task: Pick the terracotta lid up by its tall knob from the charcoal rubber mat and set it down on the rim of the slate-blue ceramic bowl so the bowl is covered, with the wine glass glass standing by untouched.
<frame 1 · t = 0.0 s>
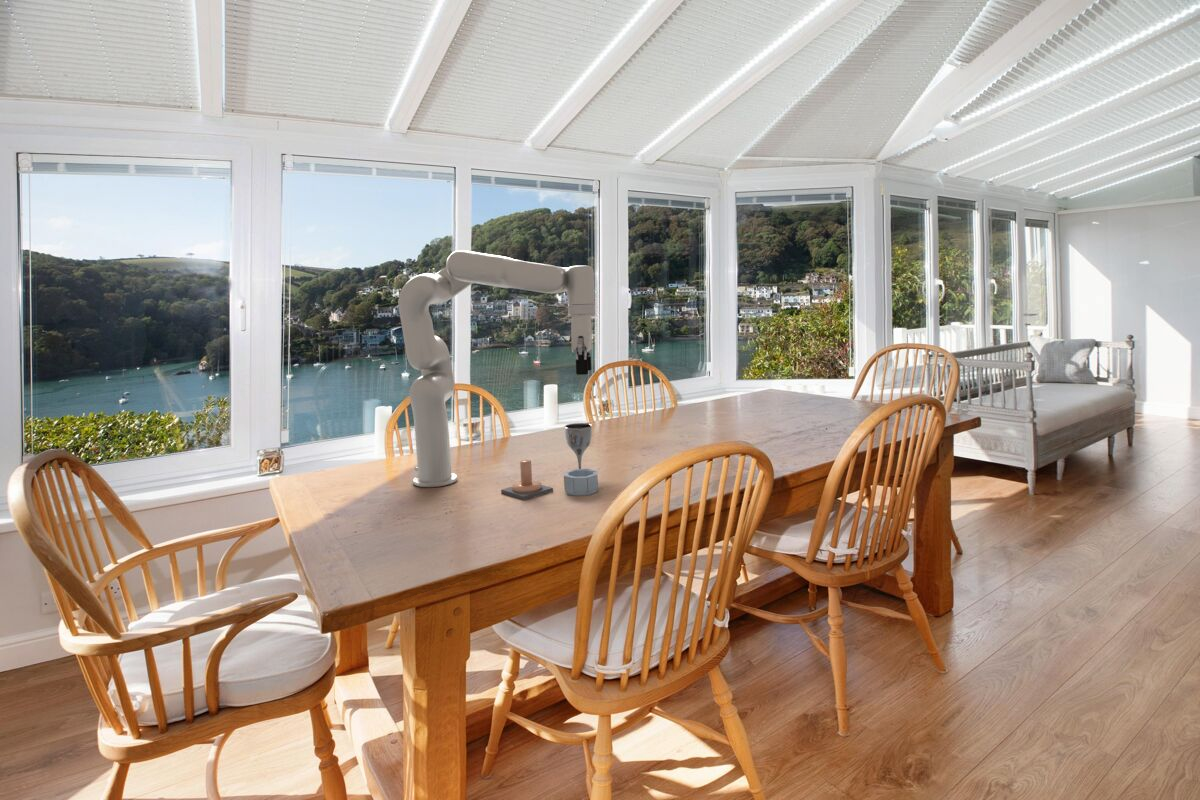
hand: (583, 372, 192), 31 cm above the table, tool pointing down, fingers open, 9 cm apart
bowl: (581, 491, 185), on the table
mat: (527, 492, 186), on the table
lid: (527, 488, 186), point 1 cm above the table, touching mat
wine glass: (580, 476, 202), on the table
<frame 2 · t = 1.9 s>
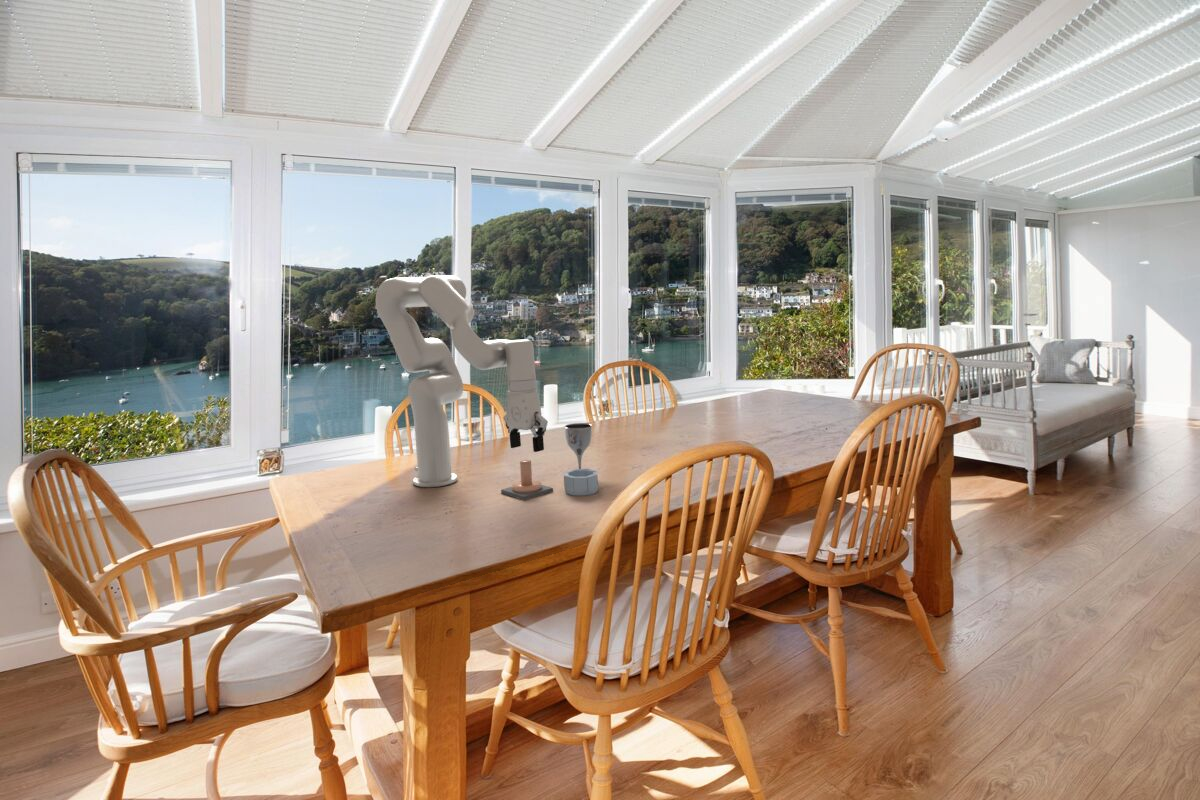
hand: (527, 449, 184), 12 cm above the table, tool pointing down, fingers open, 9 cm apart
nothing on the table moved.
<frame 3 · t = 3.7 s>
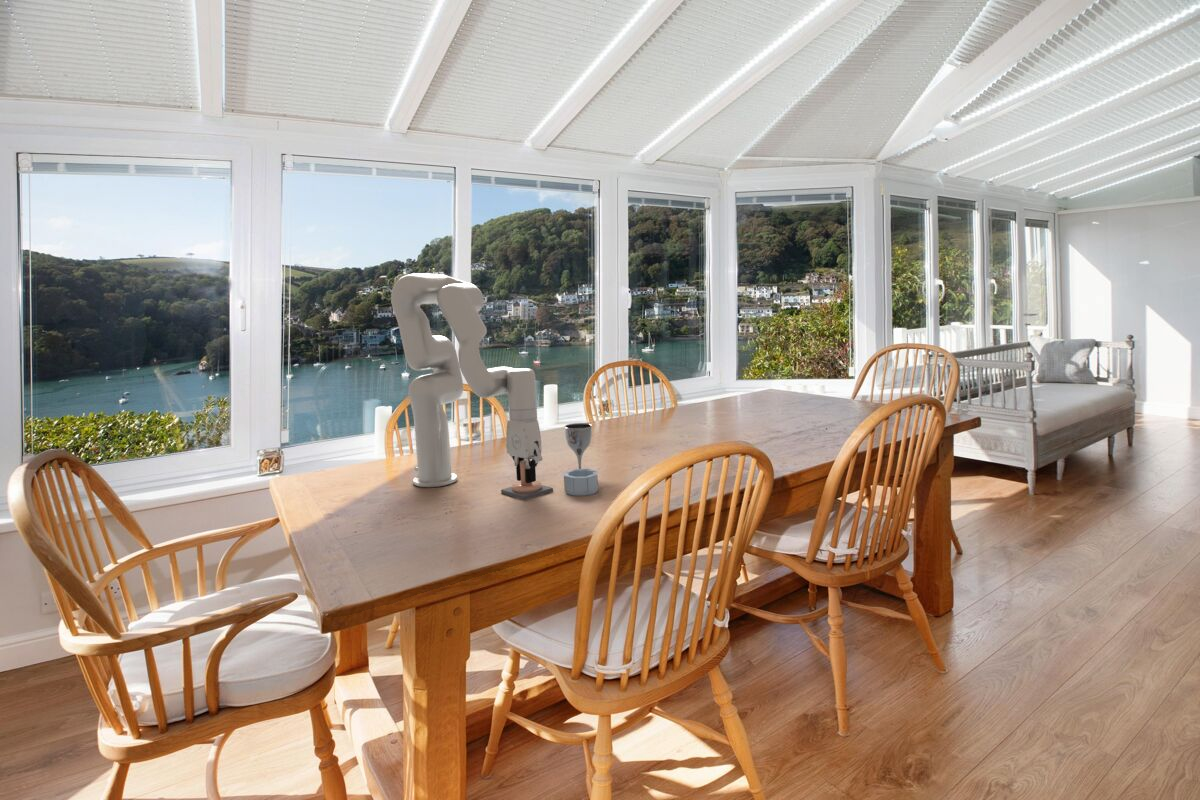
hand: (526, 480, 186), 3 cm above the table, tool pointing down, fingers closed on lid, 3 cm apart
lid: (526, 488, 186), point 1 cm above the table, touching gripper, mat
everything else where it was.
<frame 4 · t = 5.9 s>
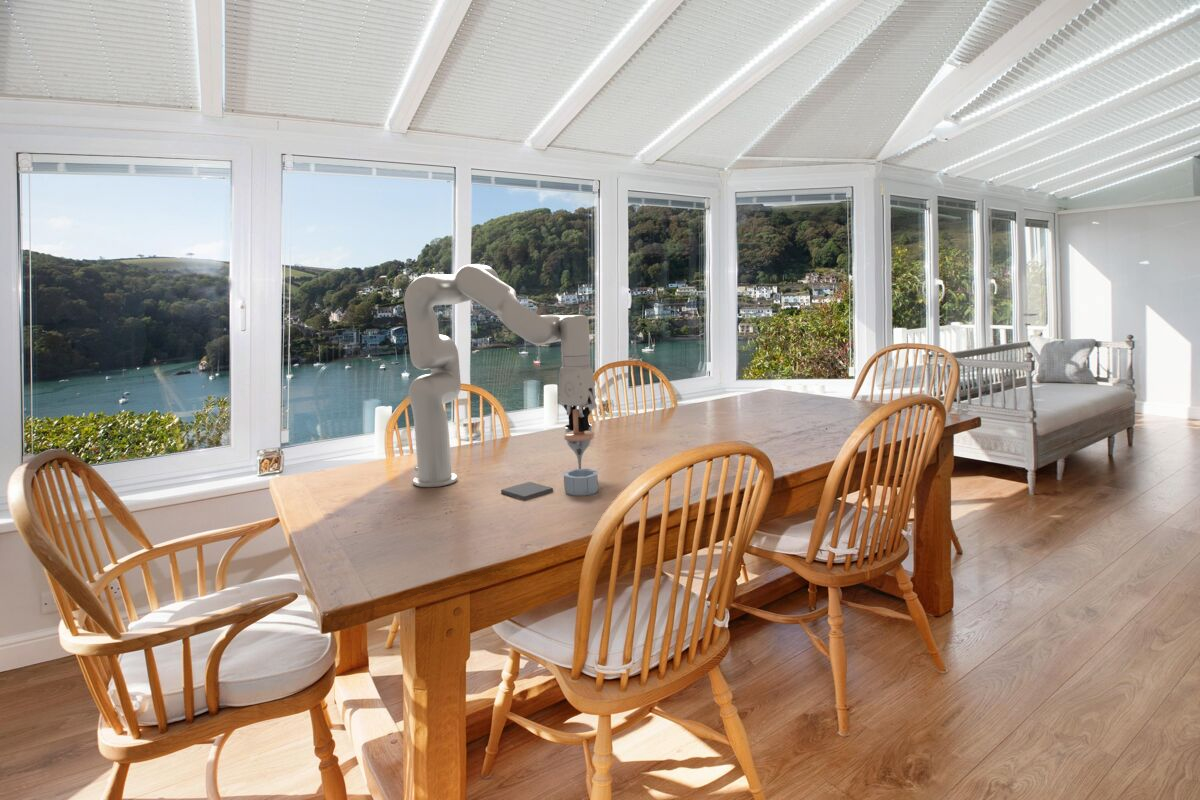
hand: (579, 429, 183), 17 cm above the table, tool pointing down, fingers closed on lid, 3 cm apart
lid: (579, 438, 183), point 15 cm above the table, touching gripper
everything else where it was.
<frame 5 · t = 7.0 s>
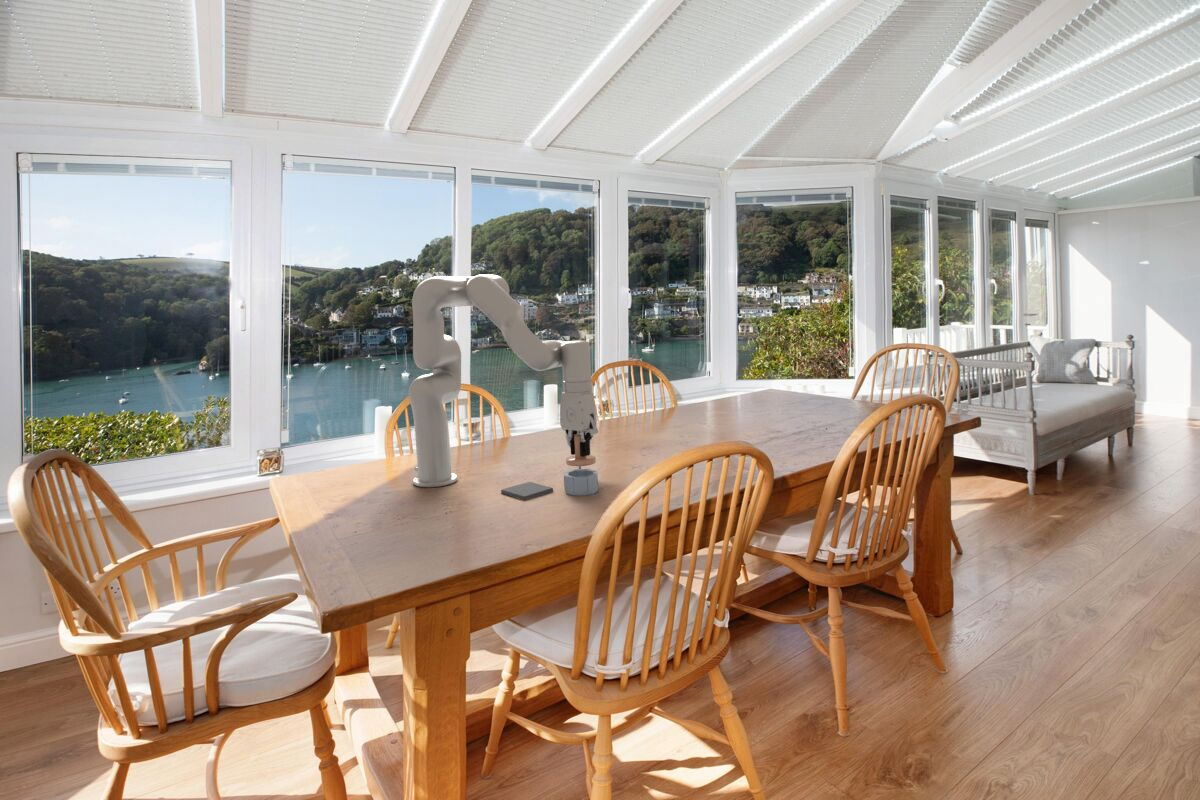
hand: (580, 454, 184), 10 cm above the table, tool pointing down, fingers closed on lid, 3 cm apart
lid: (580, 462, 184), point 8 cm above the table, touching gripper
everything else where it was.
when the fingers open (9 cm above the table, at t = 8.0 s): lid drops 1 cm, resting on bowl.
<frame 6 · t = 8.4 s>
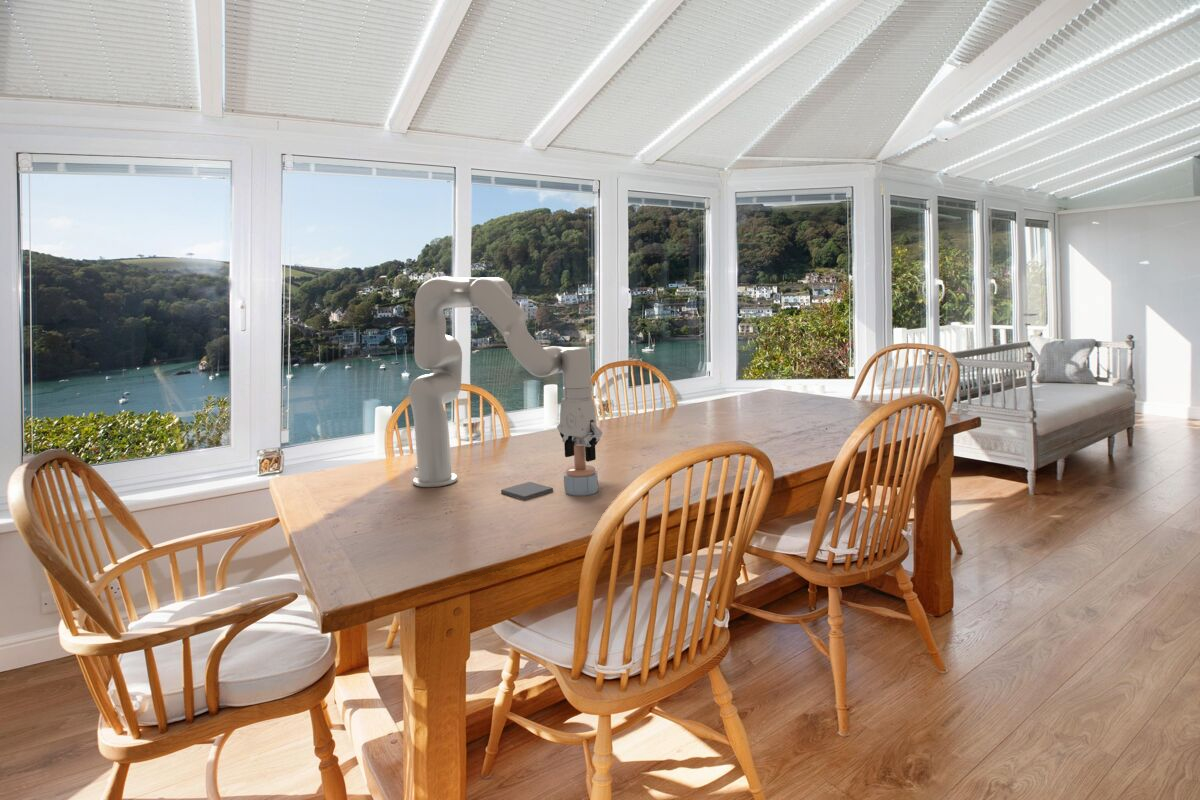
hand: (580, 458, 184), 9 cm above the table, tool pointing down, fingers open, 7 cm apart
lid: (580, 473, 185), point 5 cm above the table, touching bowl
everything else where it was.
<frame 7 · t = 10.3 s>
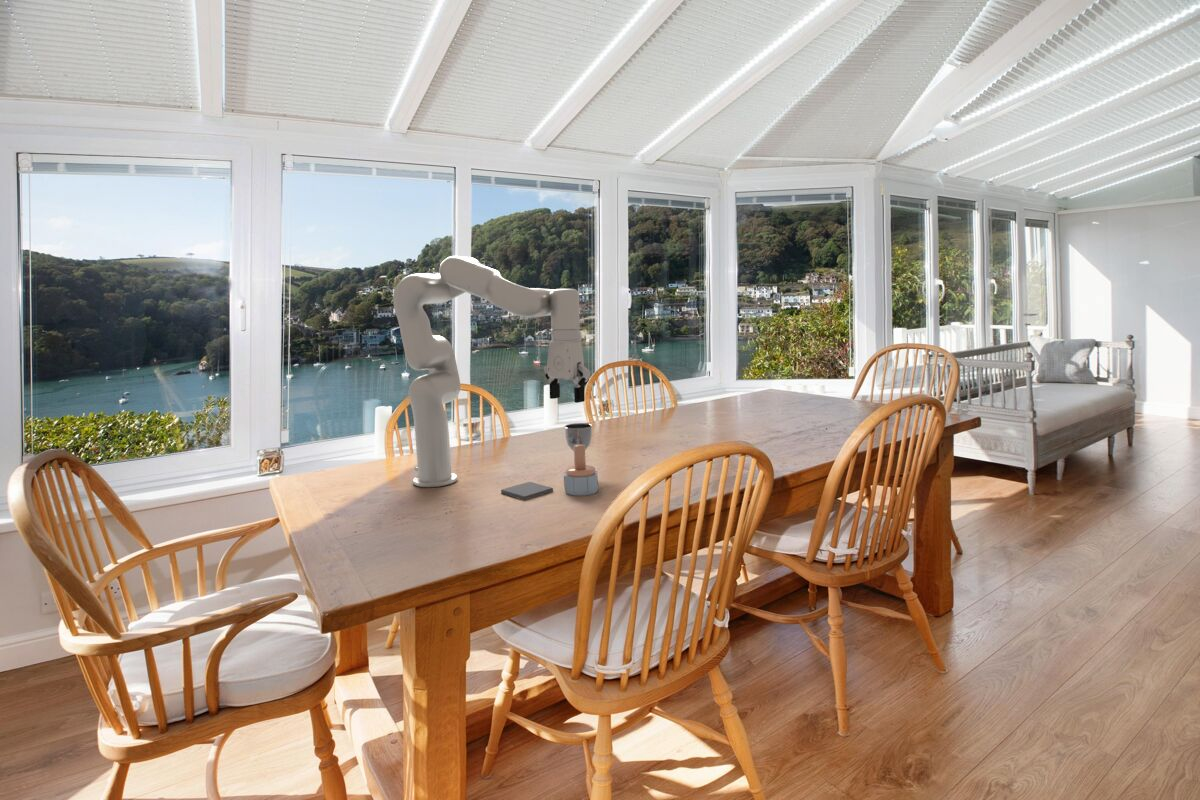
hand: (567, 400, 183), 25 cm above the table, tool pointing down, fingers open, 9 cm apart
nothing on the table moved.
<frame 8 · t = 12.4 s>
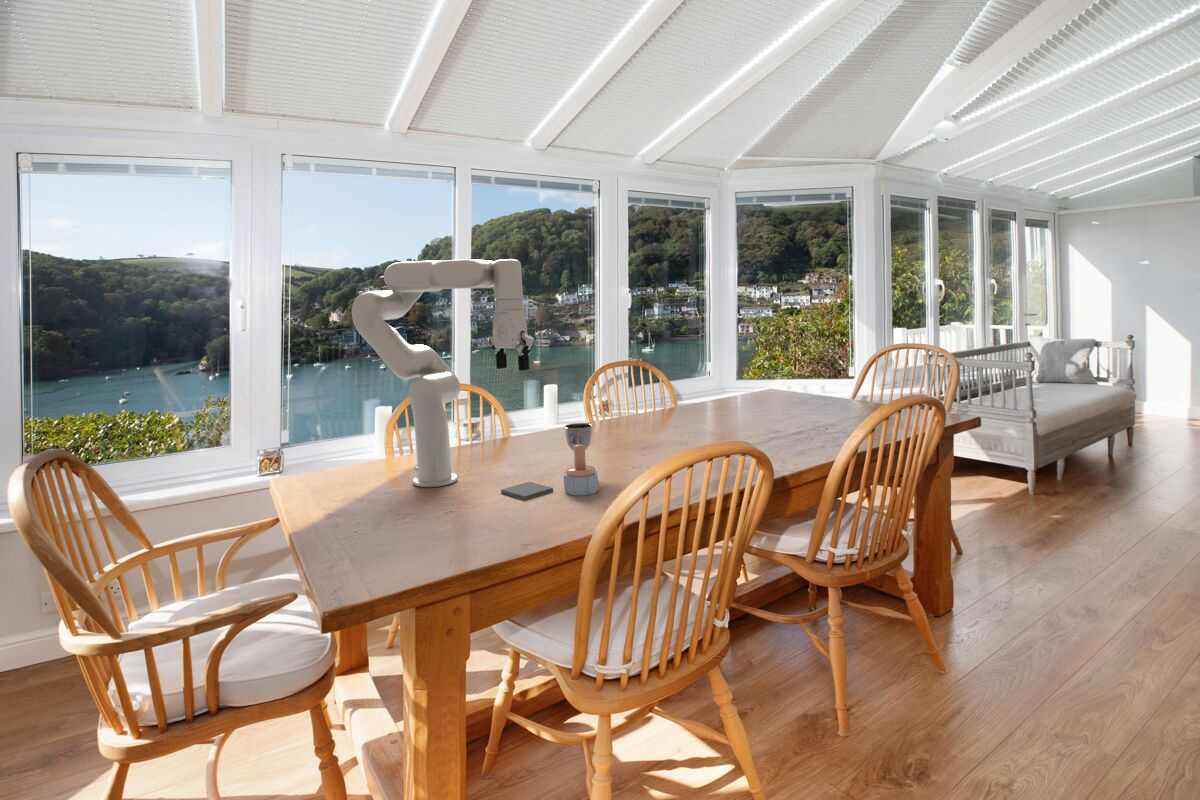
hand: (512, 369, 187), 33 cm above the table, tool pointing down, fingers open, 9 cm apart
nothing on the table moved.
at the end: lid 0.1 cm off-centre on the bowl, point 5.0 cm above the bowl's base; lid touching bowl; the gripper is holding nothing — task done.
